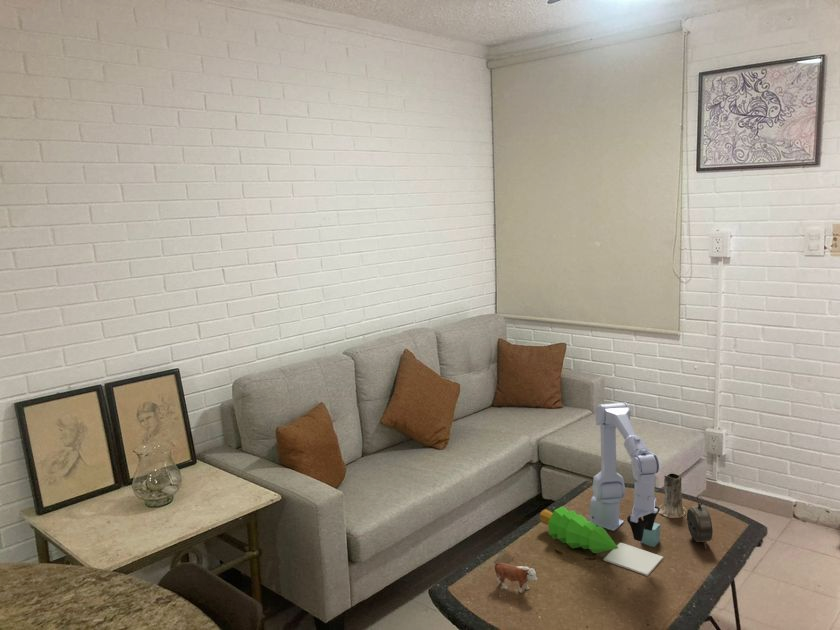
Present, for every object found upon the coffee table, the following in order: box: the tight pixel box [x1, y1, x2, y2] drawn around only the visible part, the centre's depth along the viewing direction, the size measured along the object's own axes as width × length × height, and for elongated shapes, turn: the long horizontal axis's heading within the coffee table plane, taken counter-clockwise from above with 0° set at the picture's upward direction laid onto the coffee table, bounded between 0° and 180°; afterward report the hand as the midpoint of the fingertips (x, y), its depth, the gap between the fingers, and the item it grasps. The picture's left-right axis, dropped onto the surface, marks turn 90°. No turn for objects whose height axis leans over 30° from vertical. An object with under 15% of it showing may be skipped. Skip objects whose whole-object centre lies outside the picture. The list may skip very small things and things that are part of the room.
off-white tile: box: [603, 542, 664, 577], centre depth 207 cm, size 14×12×1 cm
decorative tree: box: [539, 505, 618, 554], centre depth 214 cm, size 11×12×30 cm
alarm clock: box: [686, 494, 714, 550], centre depth 214 cm, size 11×5×16 cm, turn 178°
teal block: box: [640, 522, 661, 548], centre depth 216 cm, size 4×4×6 cm
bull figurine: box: [494, 562, 538, 594], centre depth 194 cm, size 4×13×8 cm, turn 58°
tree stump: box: [658, 473, 688, 519], centre depth 235 cm, size 10×10×13 cm
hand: (643, 534), depth 202 cm, fingers open, 7 cm apart
